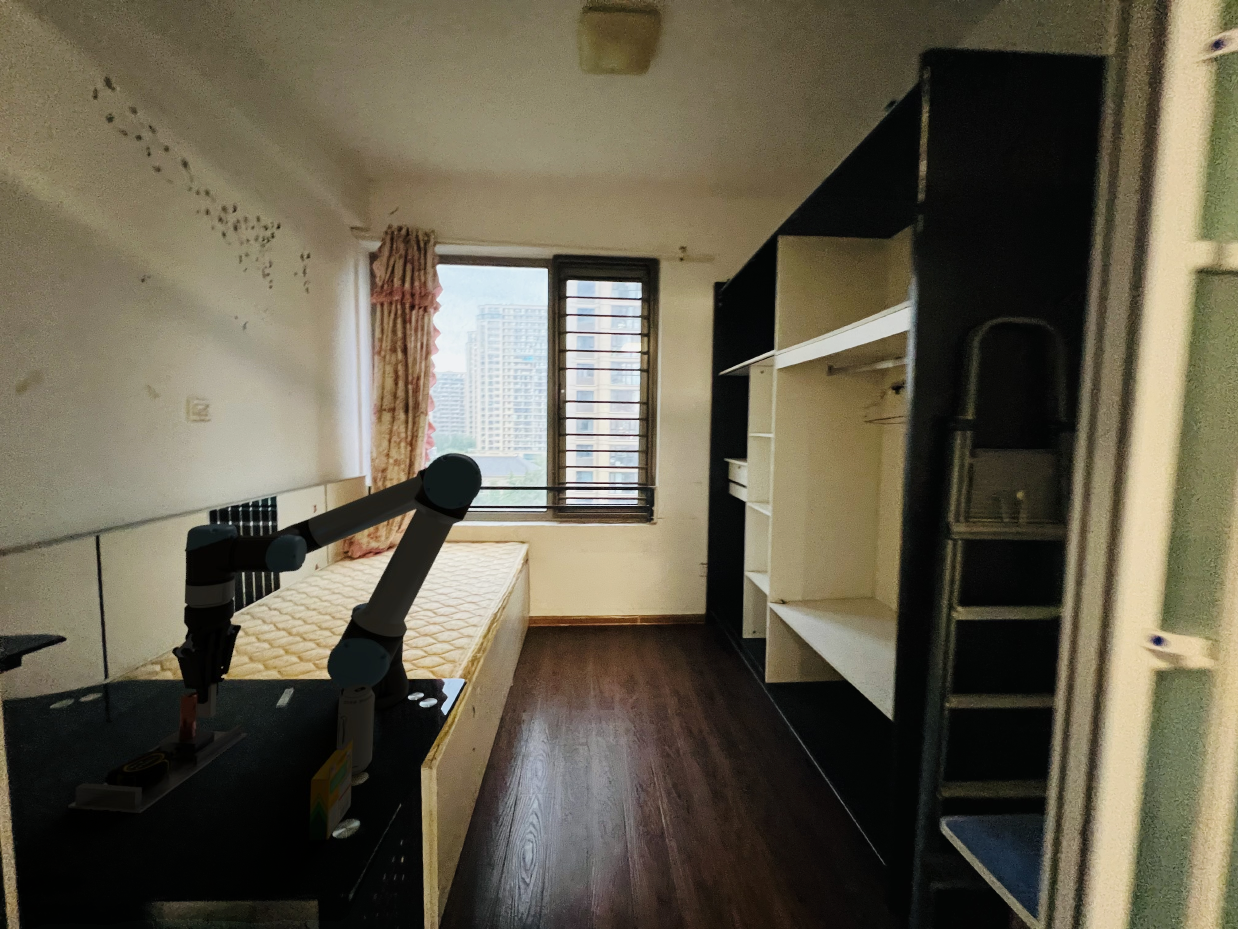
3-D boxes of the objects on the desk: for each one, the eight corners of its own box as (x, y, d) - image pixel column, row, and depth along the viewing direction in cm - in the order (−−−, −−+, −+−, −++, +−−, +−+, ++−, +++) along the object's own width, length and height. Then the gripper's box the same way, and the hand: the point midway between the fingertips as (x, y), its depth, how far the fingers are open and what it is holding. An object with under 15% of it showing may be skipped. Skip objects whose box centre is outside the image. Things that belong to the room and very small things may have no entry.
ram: (213, 746, 91) (216, 691, 91) (188, 763, 86) (191, 705, 85) (179, 743, 91) (181, 689, 91) (152, 761, 86) (154, 703, 86)
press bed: (247, 735, 96) (247, 719, 96) (139, 813, 75) (140, 792, 75) (191, 731, 96) (191, 715, 96) (68, 808, 75) (69, 787, 75)
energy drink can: (330, 767, 88) (333, 690, 87) (363, 752, 92) (366, 679, 92) (343, 782, 84) (347, 701, 84) (377, 766, 89) (380, 689, 89)
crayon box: (333, 805, 79) (336, 738, 78) (351, 805, 79) (354, 738, 79) (307, 841, 71) (310, 767, 71) (327, 841, 72) (330, 767, 71)
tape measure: (152, 765, 85) (153, 745, 85) (180, 772, 84) (181, 752, 84) (104, 791, 78) (104, 769, 78) (133, 799, 77) (134, 777, 77)
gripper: (220, 590, 99) (217, 697, 99) (159, 611, 86) (156, 733, 87) (254, 593, 98) (250, 700, 99) (198, 614, 86) (194, 737, 87)
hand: (206, 715), depth 93 cm, fingers closed
